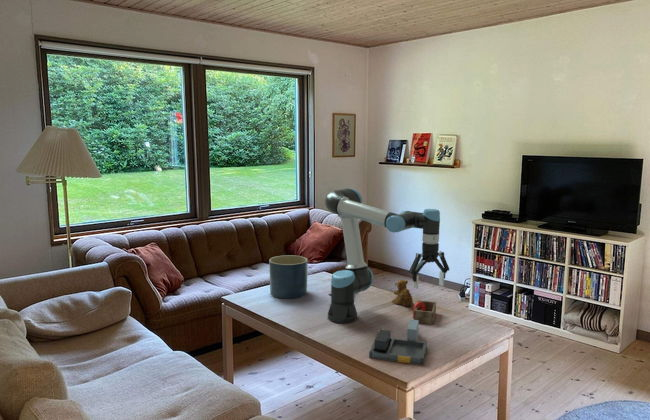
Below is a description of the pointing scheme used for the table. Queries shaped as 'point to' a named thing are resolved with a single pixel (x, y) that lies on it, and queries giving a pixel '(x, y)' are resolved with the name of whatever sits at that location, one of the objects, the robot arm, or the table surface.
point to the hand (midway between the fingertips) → (428, 286)
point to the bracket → (420, 306)
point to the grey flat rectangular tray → (397, 349)
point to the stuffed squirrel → (402, 294)
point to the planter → (288, 276)
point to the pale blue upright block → (412, 330)
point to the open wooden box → (425, 312)
